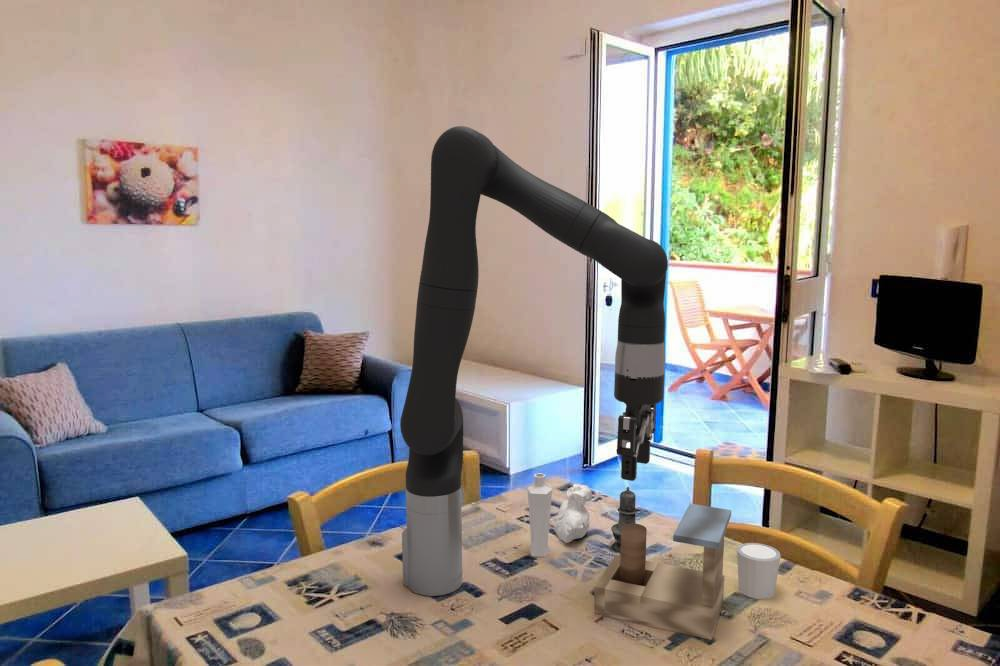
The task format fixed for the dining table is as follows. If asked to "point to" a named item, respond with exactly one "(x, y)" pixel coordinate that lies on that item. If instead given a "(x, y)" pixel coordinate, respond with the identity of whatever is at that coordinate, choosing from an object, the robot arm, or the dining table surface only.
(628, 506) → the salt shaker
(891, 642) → the dining table surface
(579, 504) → the bust
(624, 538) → the peg
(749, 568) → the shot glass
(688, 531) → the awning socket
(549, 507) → the perfume bottle
